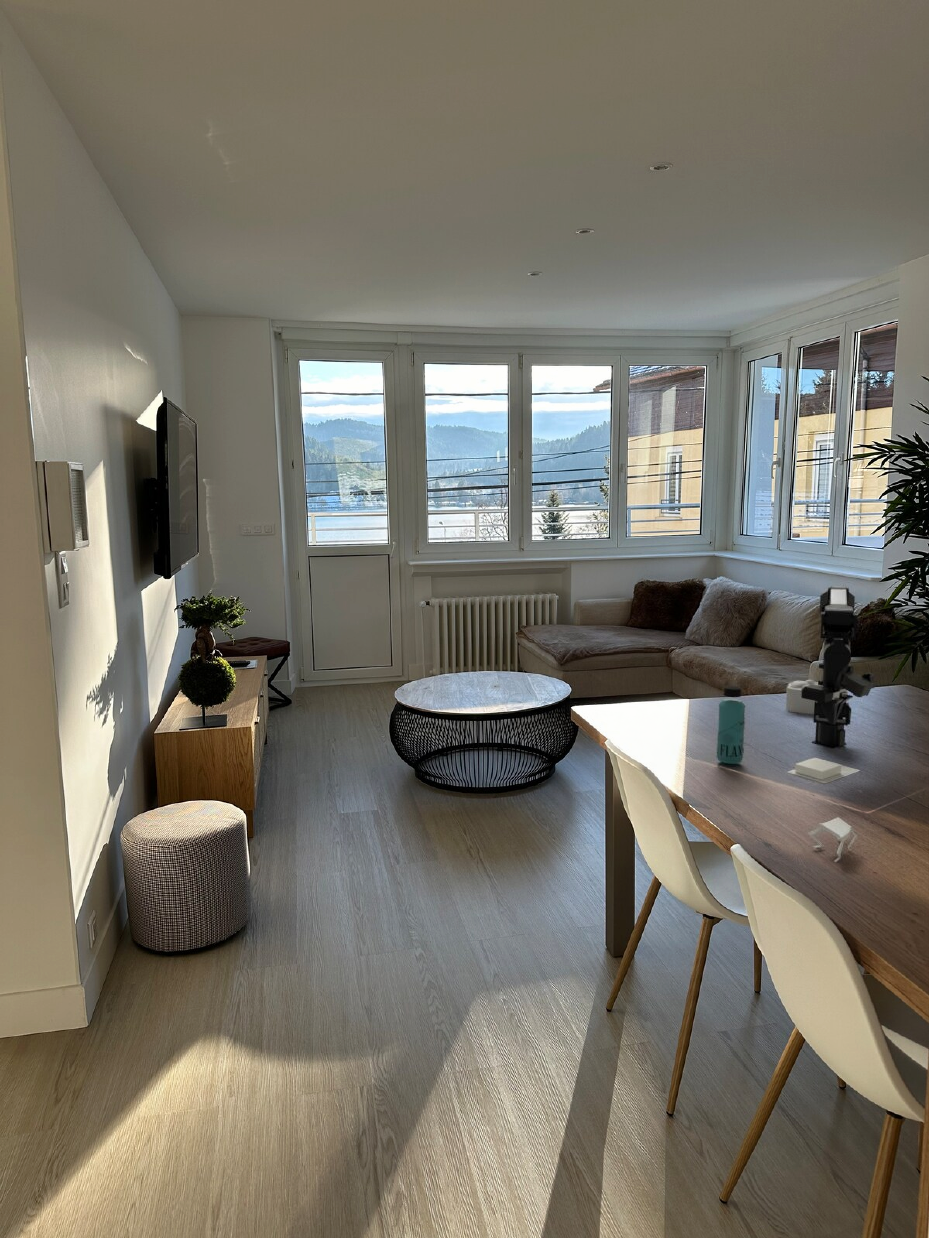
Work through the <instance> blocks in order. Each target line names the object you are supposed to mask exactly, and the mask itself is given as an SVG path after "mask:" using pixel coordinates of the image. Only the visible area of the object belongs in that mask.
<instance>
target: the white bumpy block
mask: <svg viewBox="0 0 929 1238" xmlns="http://www.w3.org/2000/svg"><path fill="white" fill-rule="evenodd" d="M810 685H817V686H822V685H818V681H817V682H816V681H814V680H813V679H807V680H805V681H802V680H794V681H792V682H790V683H788V684H787V687H786V693H785V694H786V697H785V698H786V700H785V711H788V712H792V713H797V712H798V713H799V714H809V715H814V702H815V701H813V700H809V699H804V698H801V689H803V688H804V687H805V686H810ZM822 687H823V686H822ZM798 713H797V714H798Z"/></svg>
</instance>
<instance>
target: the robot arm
mask: <svg viewBox="0 0 929 1238" xmlns="http://www.w3.org/2000/svg"><path fill="white" fill-rule="evenodd" d="M855 600H856V596H855V595H853V594H852V593H851V592H850V588H849V587H848V586H836V585H835V586H833V585H832V586H831V585H830V586H828V587H827V591H825V592H824V593H822V594H820V596H819V609H818V610H819V613H818V614H819V615H820V616H821V617H820V632H819V633H820V634H819V635H820V636H819V637H820V639H824V640H823V654H822V655H823V656H822V663H819V664H818V669H821V671H822V672H821V673H822V674H821V679H818V681H817V682H818V685H822V686H823V687H822V686H817V685H810V686H805V687H804V688H803V689H801V698H804V699H809V700H813V701H815V702H814V714H813V720H812V721H813V723H815V736H814V737H815V738H814V740H812V741H811V744H813V745H817V746H818V745H819V746H822V747H826V748H830V749H836V748H839V747H843V746H846V745H847V742H846V729H845V726H848V725H851V717H852V707H850V703H849V702H847V701H849V700H851V699H852V698H853V697H857V698H862V697H865V696H867V697H868V696H869V694H870V692H871V690H872V689H875V687H876V685H875V683H876V682H875V675H874V674H873V673H870V672H865V673H863V674H860V673H858V674H857V673H856V672H854V670H855V668H854V666H853V664H850V662H851V661H852V653H851V641H856V639H857V637H859V633H860V631H859V630H860V618H859V617H858V614H857V613H855V603H856V601H855ZM849 693H850V694H849ZM851 694H852V695H851Z"/></svg>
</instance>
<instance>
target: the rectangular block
mask: <svg viewBox="0 0 929 1238" xmlns="http://www.w3.org/2000/svg"><path fill="white" fill-rule="evenodd" d="M841 766H842V764H841V763H840V764H839V763H836V762H833V761H829V760H824V759H821V758H818V757H812V758H809V759H805V760H803V761H800V762H797V763H795V766H794V769H795V772H796V773H800V774H803V775H806V776H810V777H813V778H816V779H820V780H823V779H826V778H828V777H831V776H834V775H837V774H840V773H841Z"/></svg>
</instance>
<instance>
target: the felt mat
mask: <svg viewBox="0 0 929 1238" xmlns="http://www.w3.org/2000/svg"><path fill="white" fill-rule="evenodd" d="M841 765H842V764H841ZM861 771H862V770H860V769H856V768H853V767H849V766H846V765H844V764H843V765H842V766H841V773H840V774H837V775H834V776H831V777H828V778H826V779H823V780H820V779H816V778H813V777H810V776H806V775H803V774H800V773H796V772H795V768H794V769H791V770H788V771H787V773H788V774H792V775H795V776H799V777H802V778H805V779H808V780H812V781H815V782H819V783H821V784H827V783H830V782H833V781H836V780H838V779H841V778H844V777H847V776H849V775H853V774H856V773H859V772H861Z"/></svg>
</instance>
